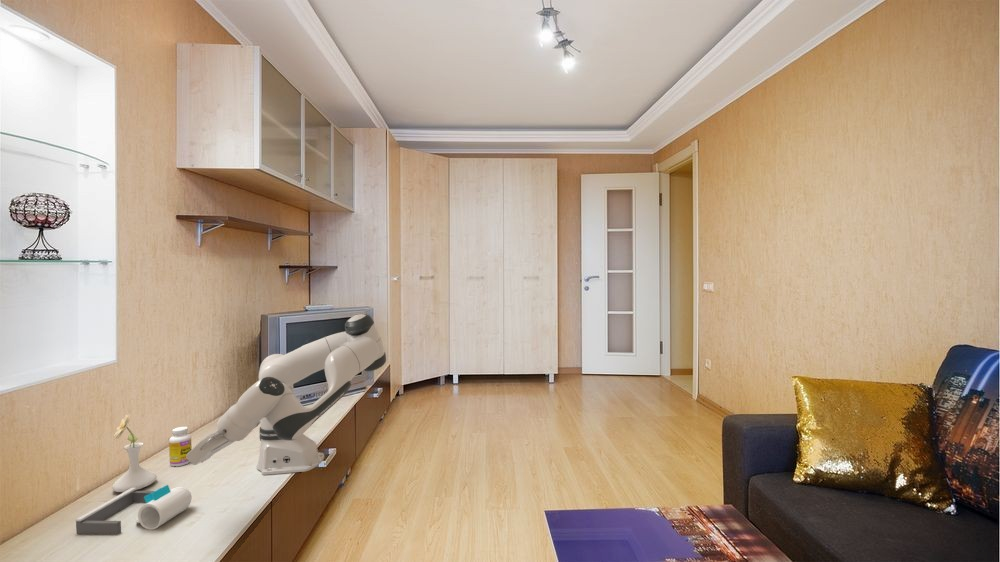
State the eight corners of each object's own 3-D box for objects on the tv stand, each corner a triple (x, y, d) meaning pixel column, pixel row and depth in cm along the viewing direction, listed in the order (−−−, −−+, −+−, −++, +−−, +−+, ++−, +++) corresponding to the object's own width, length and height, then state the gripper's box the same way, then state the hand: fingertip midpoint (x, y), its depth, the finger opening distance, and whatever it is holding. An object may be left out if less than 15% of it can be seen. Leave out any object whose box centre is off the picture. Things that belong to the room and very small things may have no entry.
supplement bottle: (180, 467, 160) (179, 432, 159) (165, 466, 161) (163, 431, 161) (196, 460, 166) (195, 426, 166) (181, 458, 167) (180, 425, 167)
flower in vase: (120, 483, 149) (117, 409, 148) (161, 476, 153) (158, 404, 152) (103, 501, 137) (100, 421, 136) (149, 493, 141) (146, 415, 141)
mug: (188, 473, 133) (152, 493, 121) (200, 501, 132) (165, 524, 121) (157, 487, 134) (118, 508, 122) (169, 515, 134) (131, 539, 122)
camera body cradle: (168, 500, 136) (167, 487, 136) (117, 534, 119) (116, 519, 119) (132, 500, 137) (131, 487, 137) (76, 534, 120) (75, 519, 120)
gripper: (218, 447, 115) (183, 484, 116) (264, 420, 136) (233, 452, 136) (201, 430, 115) (166, 467, 116) (249, 406, 136) (219, 437, 136)
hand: (203, 458), depth 126 cm, fingers closed
